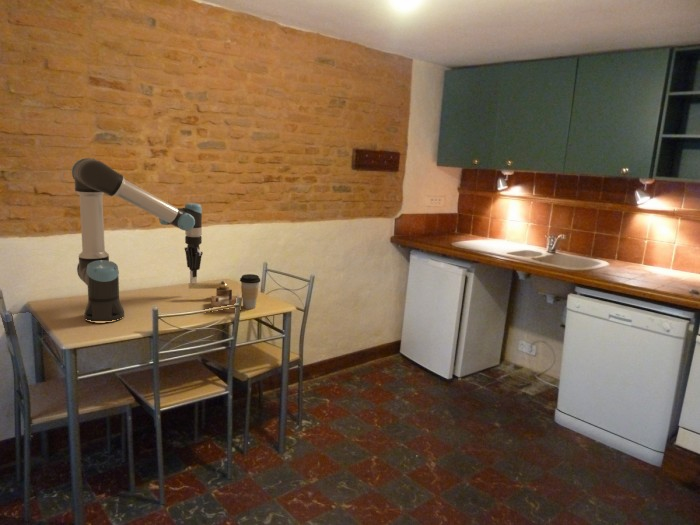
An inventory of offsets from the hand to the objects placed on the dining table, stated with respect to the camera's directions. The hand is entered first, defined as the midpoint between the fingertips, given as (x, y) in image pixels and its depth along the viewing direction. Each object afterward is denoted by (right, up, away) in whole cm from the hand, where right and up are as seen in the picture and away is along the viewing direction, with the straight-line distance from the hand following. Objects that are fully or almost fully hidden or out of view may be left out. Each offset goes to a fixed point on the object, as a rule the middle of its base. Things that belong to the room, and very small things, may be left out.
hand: (193, 282), depth 250 cm
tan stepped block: (+19, -11, -13) cm, 25 cm away
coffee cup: (+29, -11, -10) cm, 33 cm away
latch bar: (+8, -2, -3) cm, 9 cm away
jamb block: (+15, -8, 0) cm, 16 cm away
